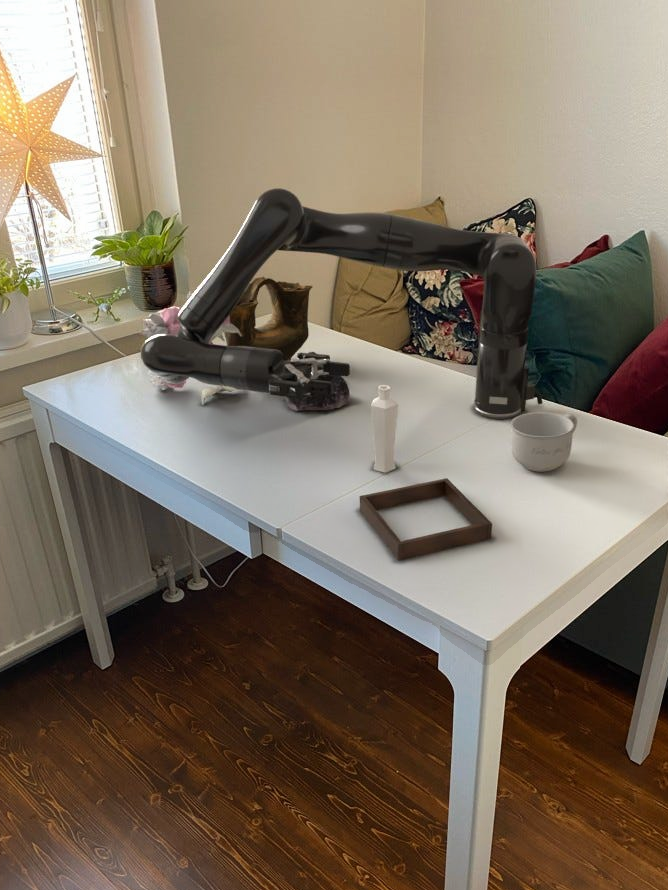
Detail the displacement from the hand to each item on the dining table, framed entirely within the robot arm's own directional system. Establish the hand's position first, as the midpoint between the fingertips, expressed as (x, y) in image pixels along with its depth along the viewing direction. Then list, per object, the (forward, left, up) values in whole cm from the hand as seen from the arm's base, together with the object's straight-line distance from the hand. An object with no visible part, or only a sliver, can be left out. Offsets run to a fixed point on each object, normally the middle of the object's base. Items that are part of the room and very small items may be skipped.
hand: (341, 379), depth 148 cm
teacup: (-33, +14, -16) cm, 39 cm away
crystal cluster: (-4, -27, -16) cm, 31 cm away
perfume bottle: (-6, +5, -16) cm, 17 cm away
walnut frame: (-4, +25, -16) cm, 30 cm away
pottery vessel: (0, -48, -16) cm, 50 cm away
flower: (+19, -41, -16) cm, 48 cm away
